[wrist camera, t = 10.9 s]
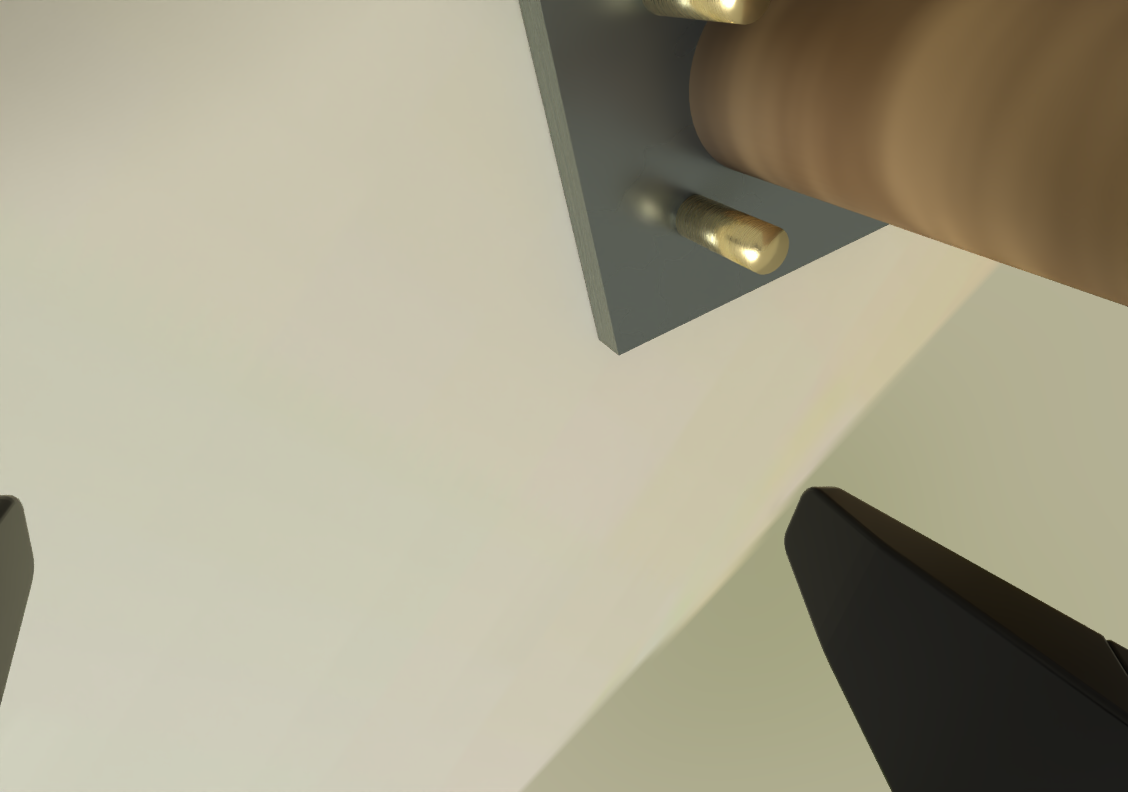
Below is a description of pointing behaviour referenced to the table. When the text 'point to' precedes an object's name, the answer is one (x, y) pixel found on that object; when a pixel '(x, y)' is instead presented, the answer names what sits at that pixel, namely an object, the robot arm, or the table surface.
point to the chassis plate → (660, 169)
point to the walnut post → (938, 121)
